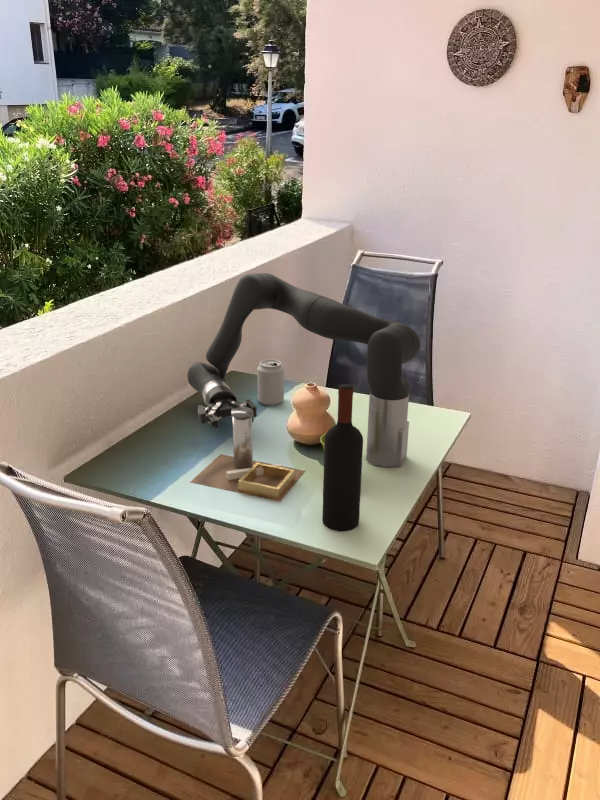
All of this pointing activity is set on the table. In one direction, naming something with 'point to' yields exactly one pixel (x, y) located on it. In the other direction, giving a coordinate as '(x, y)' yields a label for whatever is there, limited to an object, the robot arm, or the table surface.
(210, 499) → the table surface
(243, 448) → the silver cylindrical piece
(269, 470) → the keeper
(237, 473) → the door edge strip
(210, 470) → the board
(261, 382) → the can
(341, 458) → the wine bottle
